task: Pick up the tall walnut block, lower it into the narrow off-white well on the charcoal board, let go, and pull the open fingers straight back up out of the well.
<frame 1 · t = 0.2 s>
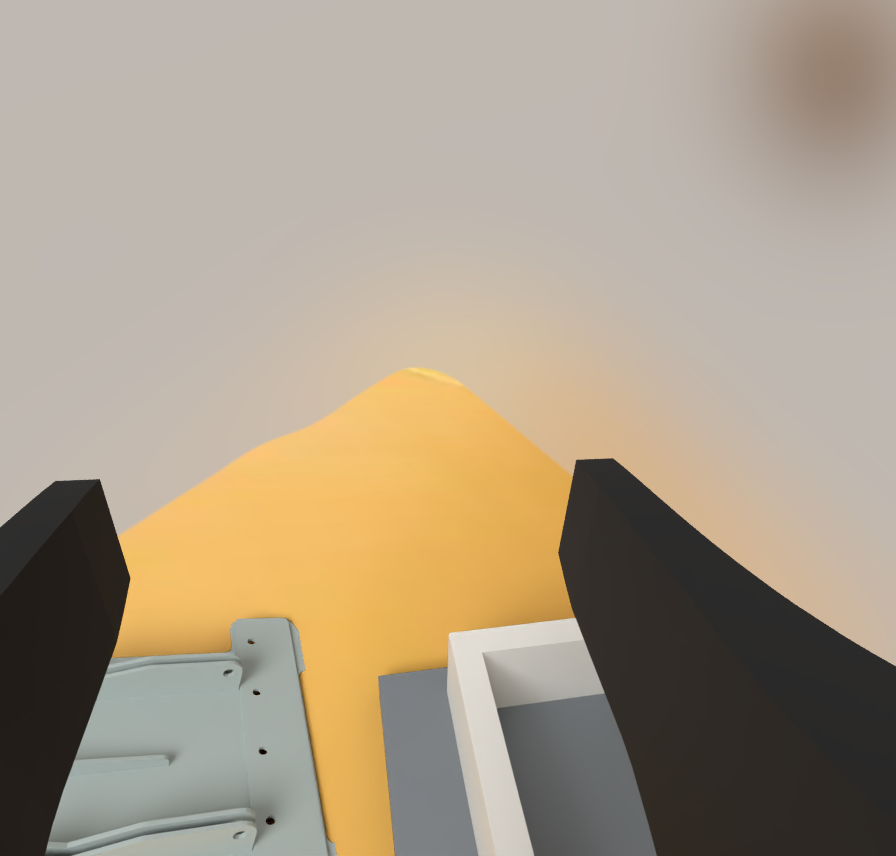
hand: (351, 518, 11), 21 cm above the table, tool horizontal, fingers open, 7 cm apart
metal bracket: (164, 799, 28), on the table
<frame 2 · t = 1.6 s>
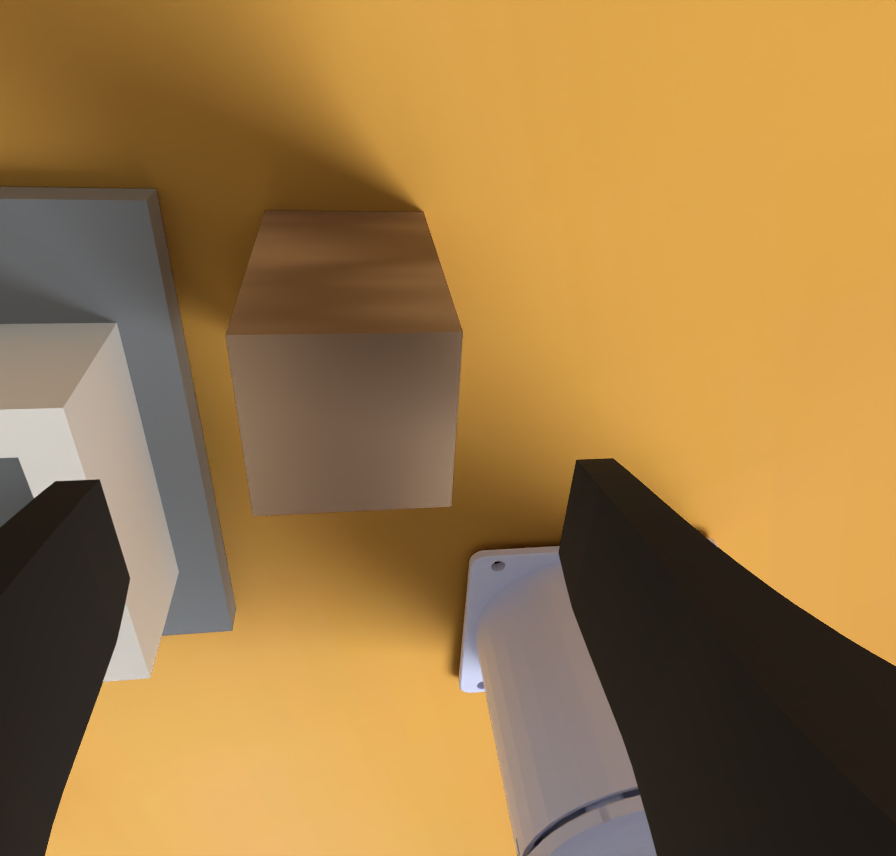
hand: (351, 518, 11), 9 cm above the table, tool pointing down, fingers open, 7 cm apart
walnut block: (348, 285, 18), on the table
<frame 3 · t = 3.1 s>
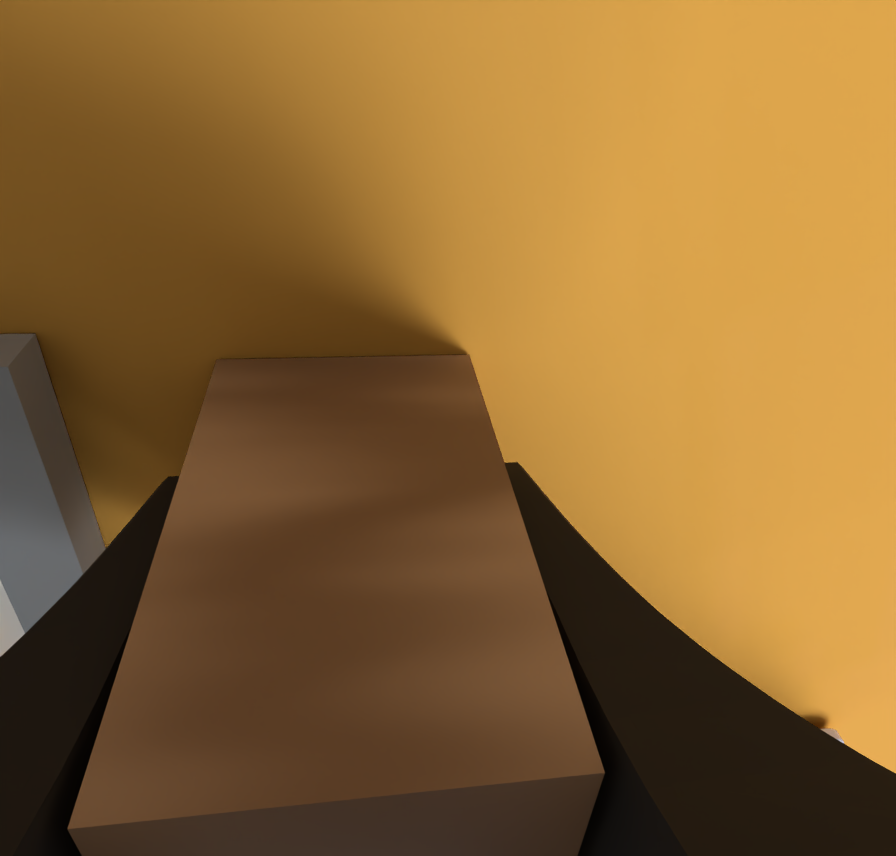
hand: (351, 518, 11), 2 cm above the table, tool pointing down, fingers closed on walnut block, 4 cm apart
walnut block: (350, 457, 12), on the table, touching gripper
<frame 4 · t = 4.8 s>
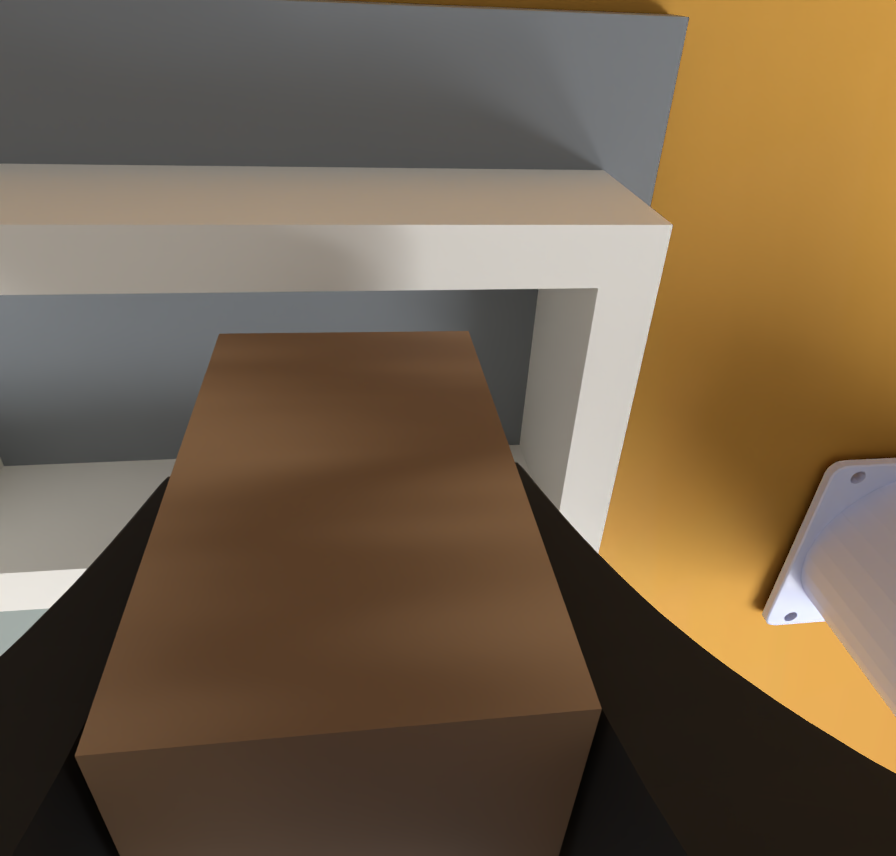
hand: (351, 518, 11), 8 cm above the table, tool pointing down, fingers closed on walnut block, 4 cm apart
metal bracket: (149, 682, 26), on the table, touching well
walnut block: (350, 434, 12), point 7 cm above the table, touching gripper
well: (264, 333, 18), on the table
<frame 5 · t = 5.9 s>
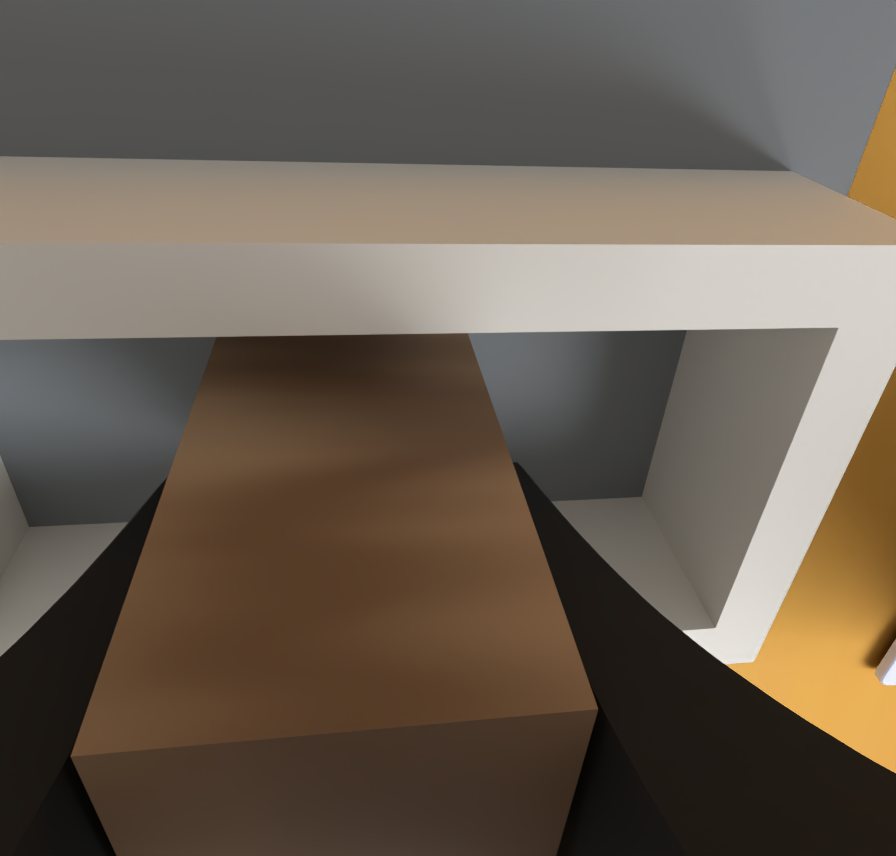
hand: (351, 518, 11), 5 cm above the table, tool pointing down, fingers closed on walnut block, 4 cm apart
walnut block: (349, 434, 12), point 3 cm above the table, touching gripper
well: (348, 366, 15), on the table
when the fingers open (5 cm above the table, at t = 6.5 s): walnut block drops 2 cm, resting on well.
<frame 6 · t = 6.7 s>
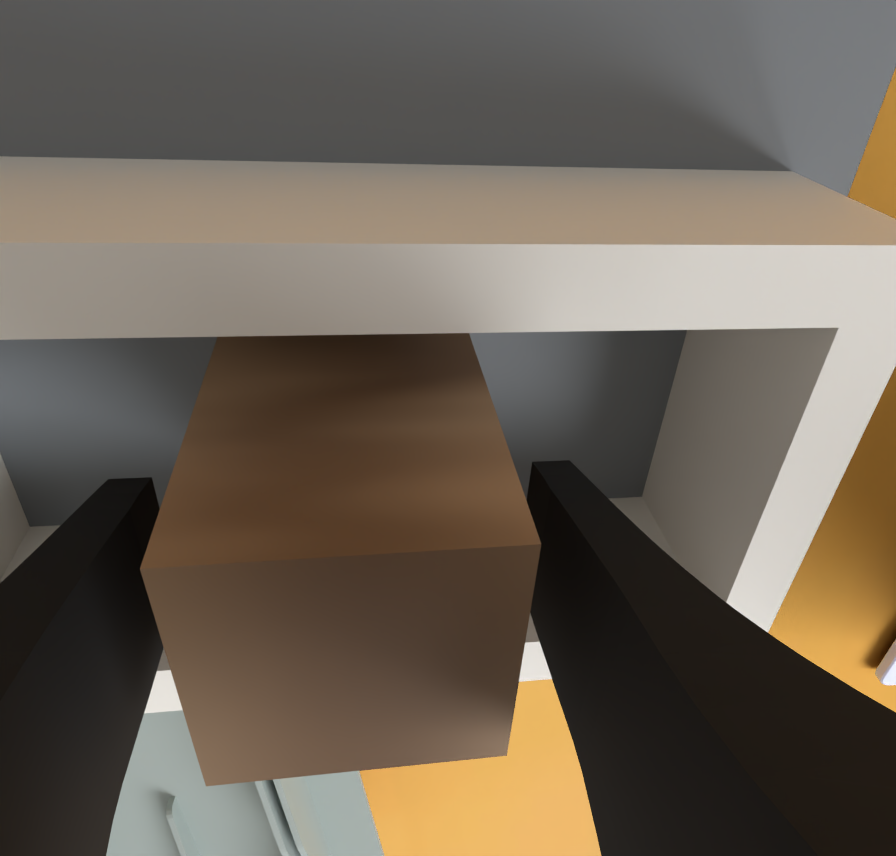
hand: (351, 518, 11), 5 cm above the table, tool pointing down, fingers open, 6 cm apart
metal bracket: (194, 734, 22), on the table
walnut block: (349, 378, 14), point 1 cm above the table, touching well
well: (348, 366, 15), on the table
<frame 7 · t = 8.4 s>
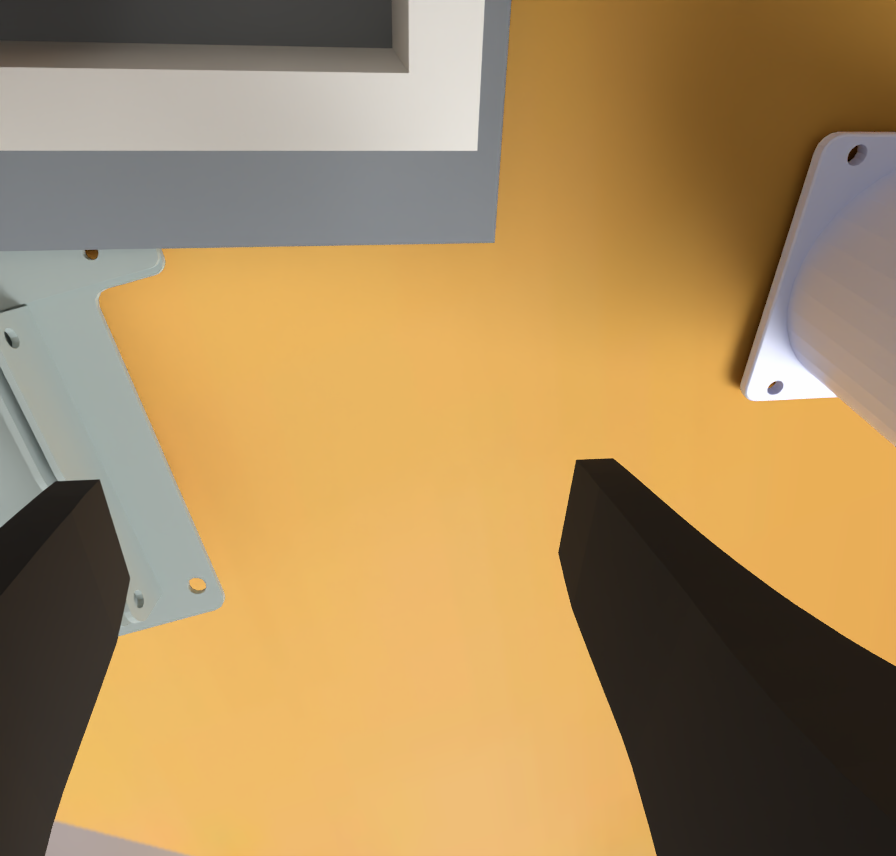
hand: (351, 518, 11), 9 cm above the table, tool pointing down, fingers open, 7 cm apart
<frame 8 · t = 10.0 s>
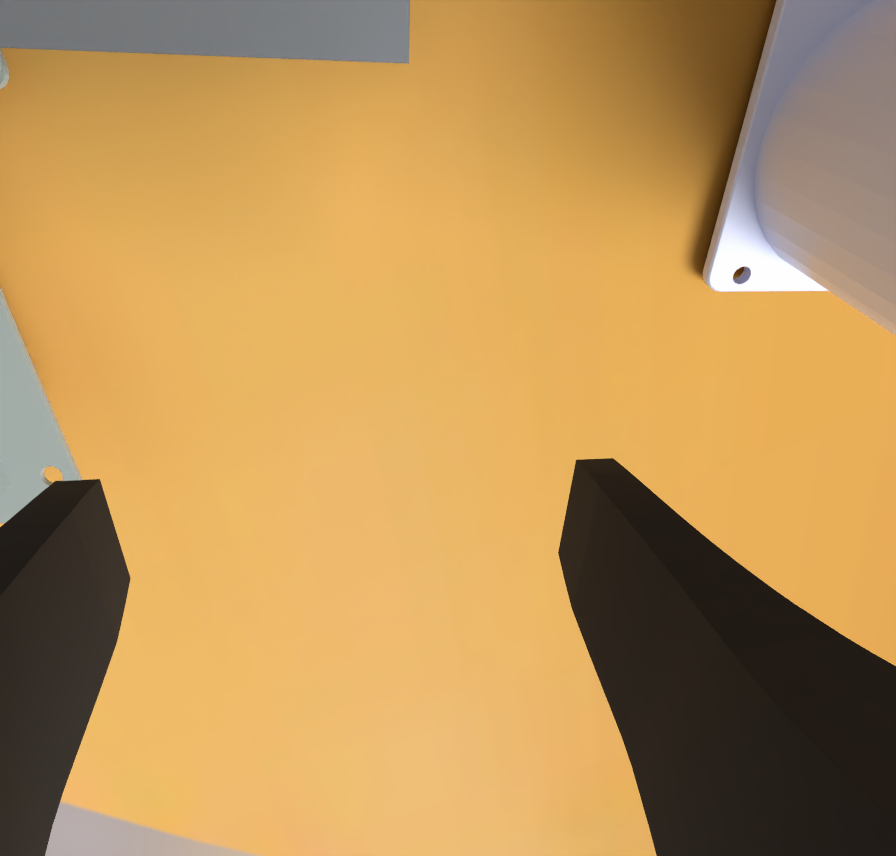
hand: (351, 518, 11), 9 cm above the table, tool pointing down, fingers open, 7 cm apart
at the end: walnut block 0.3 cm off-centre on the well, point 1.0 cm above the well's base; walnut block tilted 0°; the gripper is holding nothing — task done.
